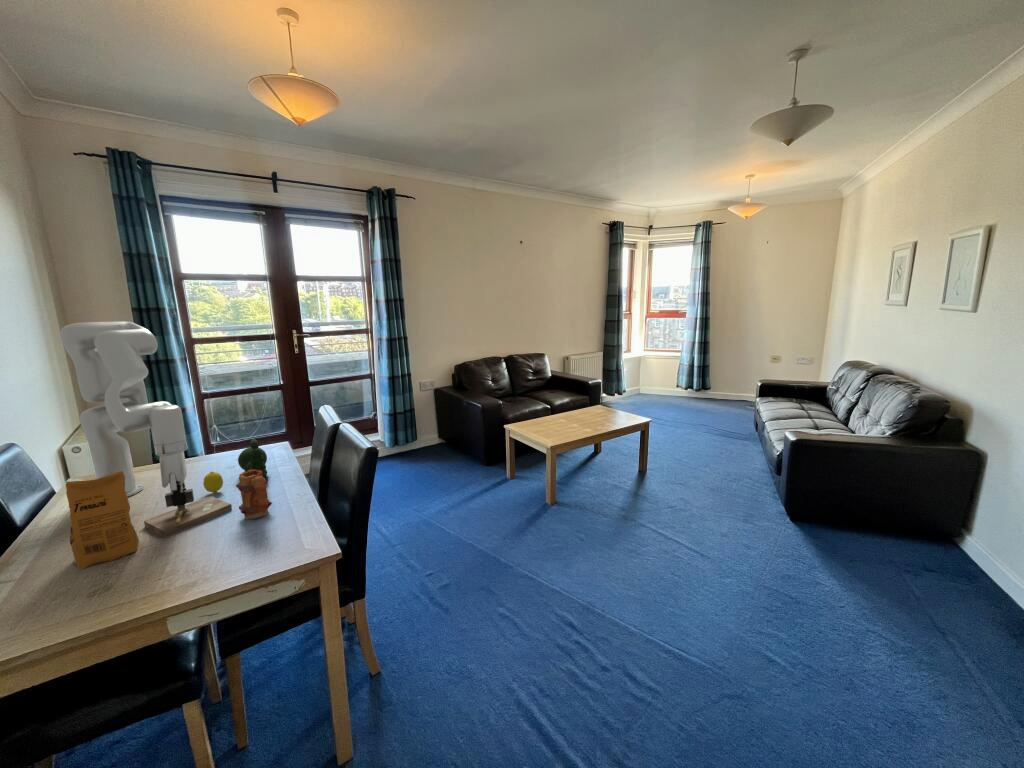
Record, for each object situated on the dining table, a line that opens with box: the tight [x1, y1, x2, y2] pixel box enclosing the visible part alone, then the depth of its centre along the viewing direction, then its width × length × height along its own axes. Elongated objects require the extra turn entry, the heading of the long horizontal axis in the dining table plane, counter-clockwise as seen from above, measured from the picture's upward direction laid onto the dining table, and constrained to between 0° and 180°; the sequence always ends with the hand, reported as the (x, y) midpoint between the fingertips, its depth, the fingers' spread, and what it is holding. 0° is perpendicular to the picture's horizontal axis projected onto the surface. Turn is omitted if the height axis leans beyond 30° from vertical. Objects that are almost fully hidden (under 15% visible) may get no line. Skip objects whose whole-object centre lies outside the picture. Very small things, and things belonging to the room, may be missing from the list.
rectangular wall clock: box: [143, 495, 233, 538], centre depth 126 cm, size 12×18×2 cm, turn 152°
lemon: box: [202, 471, 224, 494], centre depth 142 cm, size 6×6×8 cm
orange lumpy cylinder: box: [235, 470, 273, 520], centre depth 125 cm, size 15×8×15 cm, turn 47°
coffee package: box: [65, 471, 140, 569], centre depth 106 cm, size 10×12×22 cm
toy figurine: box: [237, 438, 269, 483], centre depth 153 cm, size 9×19×25 cm
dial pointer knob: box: [164, 488, 195, 523], centre depth 123 cm, size 9×6×6 cm
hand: (180, 502), depth 125 cm, fingers closed on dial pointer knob, 2 cm apart
